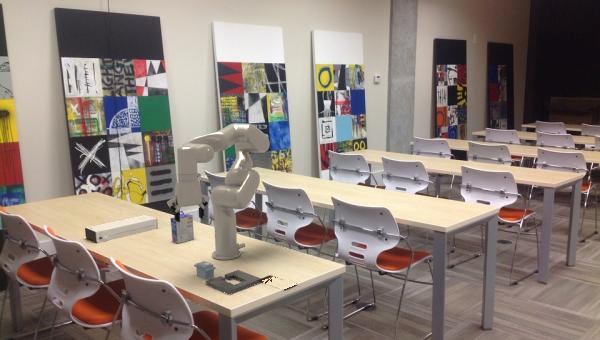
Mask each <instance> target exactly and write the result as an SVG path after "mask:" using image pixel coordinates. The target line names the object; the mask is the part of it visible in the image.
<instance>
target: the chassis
mask: <svg viewBox="0 0 600 340" xmlns="http://www.w3.org/2000/svg"><path fill="white" fill-rule="evenodd" d="M262 278H263V277H258V276H256V275H253V274H251V273H247V272H245V271H243V270H239V269H237V270H234V271H231V272H227V273H226V274H224V276H221V275H219V276H217V277H212V278H211V279H210V278H209V279H206V280H205V285H206V286H208V287H210V288H213V289H214V290H217V291H219V290H220V291H219V292H221V293H224V292H225V294H226V293H227V295H229V294H230V295H232V294H235V293H237V291H238V292H240V291H242V289H243V290H245V289H247V287H248V288H250V287H249V286H251V287H253V286H255V285H254V284H256V285H258V284H257V283H259V284H261V283H260V282H262ZM235 279H236V281H238V283H236V284H235V283H234V284H233V283H231V282H229V281H231V280H235ZM227 280H228V281H227ZM252 285H253V286H252ZM244 288H245V289H244ZM239 290H240V291H239ZM234 292H235V293H234ZM231 293H232V294H231Z"/></svg>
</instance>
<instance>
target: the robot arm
mask: <svg viewBox="0 0 600 340" xmlns="http://www.w3.org/2000/svg"><path fill="white" fill-rule="evenodd" d="M270 144H271V143H270V139H269V136H268V135H266V133H264V132H263V131H262V130H260V129H259V128H258V127H257V126H256V125H253V124H251V123H240V122H239V123H238V122H236V123H231V124H228V125H226V126H224V127H223V128H221V129H219V130H217V131H215V132H213V133H212V132H211V133H208V134H205V135H200V136H197V137H194V138H192V139H190V140H188V141H187V142H185V143H184V144H182V145H181V146H179V147H178V148H177V149H176V154H177V155H176V156H177V160H176V161H177V181H176V182H175V186H174V187H175V189H174V196H173V197H172V198H170V199H169V200H167V201H166V204H167V205H168V207H169V209H171V210H172V211H173V212H174V214H173V215H174V216H173V217H174V218H175V220H176V221H177V222H180V214H181V213H179V211H181V208H186V207H194V206H198V207H199V208H198V218H199V219H201V220H202V219H204V216H205V209H206V207H207V205H208V204H209V201H210V200H211V205H212V209H213V220H214V221H213V222H214V247H215V249H214V251H213V252H212V253H211V255H212V256H211V257H212V258H213V259H215V260H220V261H227V260H228V261H229V260H234V259H237V258H239V257H241V253H242V252H241V250H240V249H243V248H246V243H245V242H242V243H239V242H238V239H237V235H238V234H237V216H236V213H235V210H244V209H247V208H248V206H249V205H250V203H251V201H252V200H253V198H254V197H255V194H256V192H257V191H258V189H259V186H260V183H261V177H260V174H259V172H258V171H257V170H256V169H253V167H254V163H253V160H252V158H251V155H250V153H252V154H253V153H254V154H255V153H256V154H257V153H258V154H264V153H266V152H268V150H269V148H270ZM233 146H234V149H235V159H234V162H233V163H232V165H231V167H230V169H229V170H228V172H227V173H226V175H225V178H224V184H225V185H217V186H215V187H214V188H213V189H211V190H212V191H211V193H210V196H208V195H206V194H203V192H202V187H201V181H200V179H199V178H200V177H202V175H201V173H199V172H198V164H206V163H209V162H212V161H213V159H214V157H215V153H218V152H219V153H220V152H224V151H226V150H227V149H229V148H231V147H233ZM203 199H204V201H203ZM173 203H174V205H175V206H174V205H173Z"/></svg>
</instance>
